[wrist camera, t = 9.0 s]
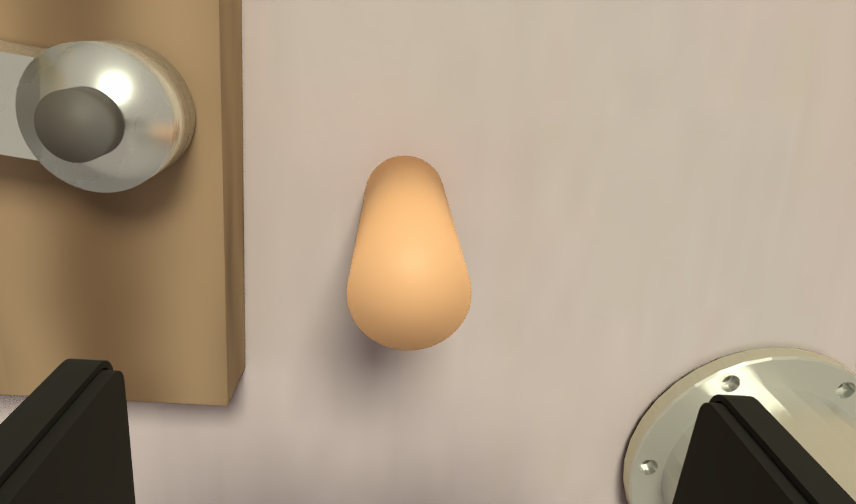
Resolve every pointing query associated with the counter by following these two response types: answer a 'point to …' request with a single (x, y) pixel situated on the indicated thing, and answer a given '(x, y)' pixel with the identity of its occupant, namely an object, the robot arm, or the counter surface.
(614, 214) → the counter surface
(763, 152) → the counter surface
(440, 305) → the lock pin
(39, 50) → the latch bar
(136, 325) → the base plate
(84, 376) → the robot arm
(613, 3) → the counter surface
